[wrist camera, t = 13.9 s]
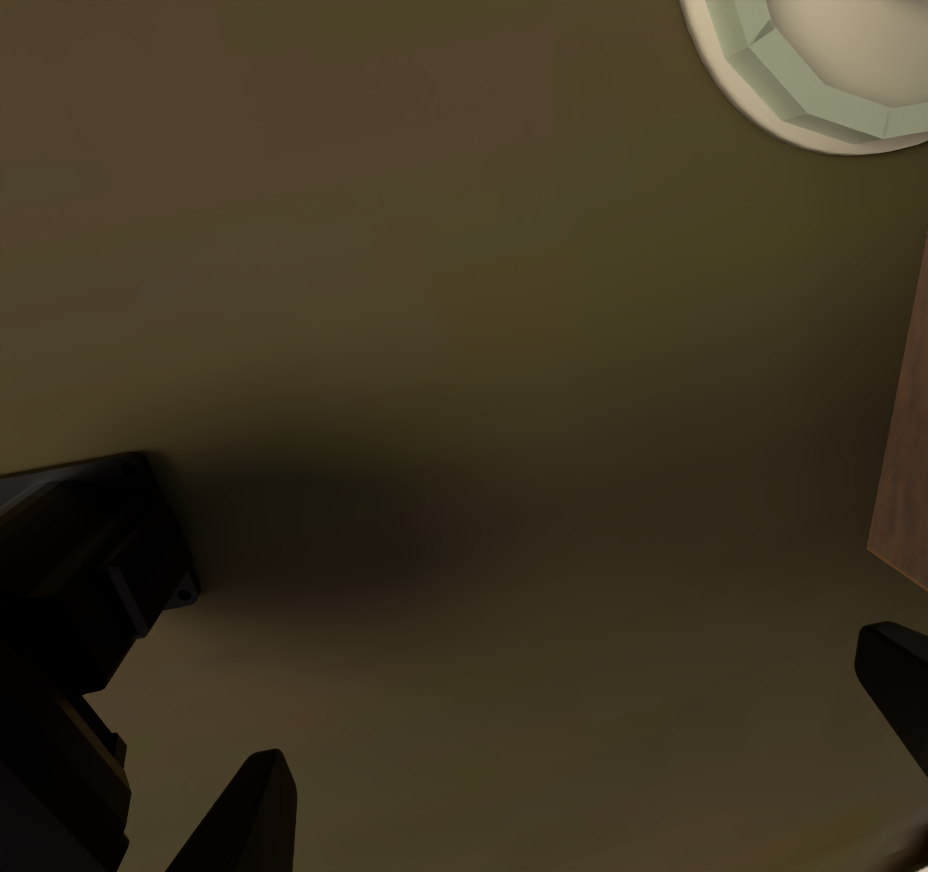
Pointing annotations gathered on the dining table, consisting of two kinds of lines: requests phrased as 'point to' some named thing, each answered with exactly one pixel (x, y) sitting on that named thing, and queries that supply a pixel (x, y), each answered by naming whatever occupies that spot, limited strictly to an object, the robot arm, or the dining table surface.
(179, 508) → the dining table surface
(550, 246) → the dining table surface
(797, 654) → the dining table surface
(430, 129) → the dining table surface
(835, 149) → the round tray
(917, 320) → the tissue box cover
